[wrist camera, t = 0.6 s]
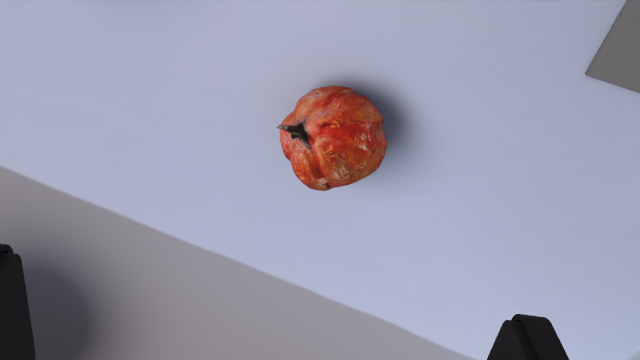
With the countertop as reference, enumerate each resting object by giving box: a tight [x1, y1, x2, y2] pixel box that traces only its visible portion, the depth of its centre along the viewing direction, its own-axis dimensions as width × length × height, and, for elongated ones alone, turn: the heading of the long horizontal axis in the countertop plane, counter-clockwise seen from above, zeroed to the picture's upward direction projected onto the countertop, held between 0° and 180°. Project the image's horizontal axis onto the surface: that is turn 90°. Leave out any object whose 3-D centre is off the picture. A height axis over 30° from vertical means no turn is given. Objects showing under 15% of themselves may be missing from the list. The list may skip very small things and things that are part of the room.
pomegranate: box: [277, 86, 387, 191], centre depth 38 cm, size 7×7×10 cm
